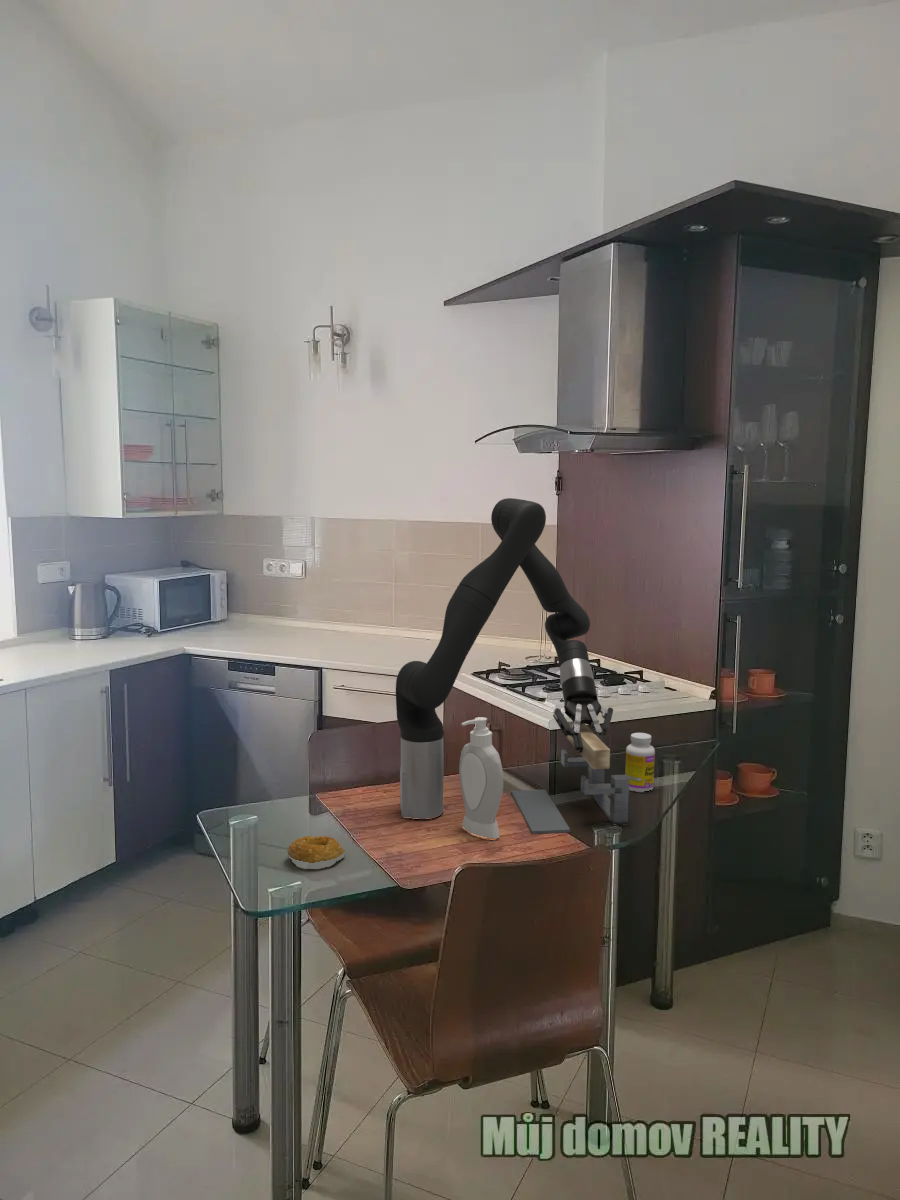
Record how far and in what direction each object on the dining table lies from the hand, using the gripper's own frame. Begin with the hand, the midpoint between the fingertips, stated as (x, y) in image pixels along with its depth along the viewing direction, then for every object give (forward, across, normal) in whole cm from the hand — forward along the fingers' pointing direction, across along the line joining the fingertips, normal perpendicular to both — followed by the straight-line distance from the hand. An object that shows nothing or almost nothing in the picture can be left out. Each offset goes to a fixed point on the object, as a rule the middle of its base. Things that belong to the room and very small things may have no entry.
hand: (589, 750), depth 199 cm
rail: (-1, 0, +2) cm, 2 cm away
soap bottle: (+17, -26, +3) cm, 31 cm away
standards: (+8, +2, +11) cm, 14 cm away
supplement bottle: (+1, +16, +19) cm, 25 cm away
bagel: (+24, -58, -2) cm, 63 cm away
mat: (+9, -11, +11) cm, 18 cm away
